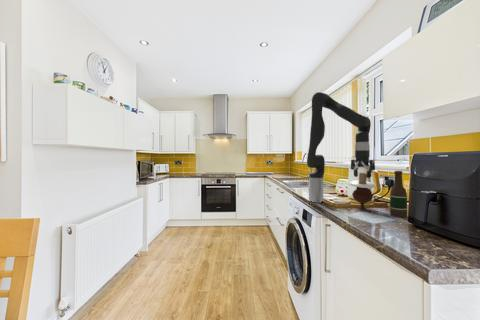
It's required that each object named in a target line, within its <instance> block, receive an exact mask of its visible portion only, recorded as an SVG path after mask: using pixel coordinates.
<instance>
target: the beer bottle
mask: <svg viewBox="0 0 480 320" xmlns="http://www.w3.org/2000/svg"><path fill="white" fill-rule="evenodd" d="M393 173H394V181H393V186H392V188H391V189H390V192H389V215H390V216H391V217H395V218H401V219H403V218H407V217H408V193H407V190H406V188H405V187H404V184H403V171H402V170H395V171H394V172H393Z"/></svg>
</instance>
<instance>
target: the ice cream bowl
mask: <svg viewBox="0 0 480 320" xmlns="http://www.w3.org/2000/svg"><path fill="white" fill-rule="evenodd" d="M373 196H374V194H372V191H371V188H361V187H356V188H355V189H354V190H353V192H352V198H353V199H354V200H355V201H356V202H357V203H359V204H360V206H359V207H357V210H360V211H368V209H367V208H366V207H365V204H367V203H369V202H371V200H372V199H373Z"/></svg>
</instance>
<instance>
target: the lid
mask: <svg viewBox="0 0 480 320" xmlns="http://www.w3.org/2000/svg"><path fill="white" fill-rule="evenodd" d="M367 179H368V178H367V172H358V180H357V179H356V180H354V179H353V180H349V185H350V186H353V187H356V188H357V187H361V188H368V189H375V188H377V184H376V183H375V182H371V181H368V180H367Z"/></svg>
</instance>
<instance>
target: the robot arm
mask: <svg viewBox="0 0 480 320" xmlns="http://www.w3.org/2000/svg"><path fill="white" fill-rule="evenodd" d="M323 108H324V109H328V110H330V111H331V112H333V113H335V114H336V115H337V116H338V117H340V118H341V119H343V120H345V121H346V122H348V123H350V124H351V125H352V126H354V127H356V128H357V133H355V145H354V158H355V159H351V160H350V170H352V171H353V176H354V177H355V178H356V177H357V178H359V169H360V168H364V169H365V170H366V173H367V179H371V177H372V172H373V171H375V170H376V165H375V164H376V163H375V159H370V157H371V156H370V153H371V152H370V151H371V150H370V147H371V146H370V133H371V132H370V131H371V126H372V124H371V123H372V122H371V119H370V118H369V117H368V116H364V115H362V114H360V113H358V112H356V111H355V110H353V109H351V108H350V107H348V106H346V105H345V104H342V103H339V102H338V101H336V100H335V99H333V97H331V96H330V95H328V93H325V92H321V91H320V92H315V93H314V94H313V95H312V97H311V121H310V122H311V123H310V133H309V146H308V151H307V157H306V165H307V167H308V168H310V169H315V170H314V171H312V172H310V173H309V187H308V201H309V200H310V201H312V202H311V203H313V202H316V203H315V204H320V203H321V202H322V201H323V202H324V175H325V168H326V167H325V165H326V162H325V161H326V160H325V157H324V155H322V154H317V149H318V146H319V145H320V144H321V142H322V141H323V140H324V137H325V131H326V126H325V125H326V124H325V121H324V118H323ZM310 201H309V202H310ZM321 204H322V203H321Z"/></svg>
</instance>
